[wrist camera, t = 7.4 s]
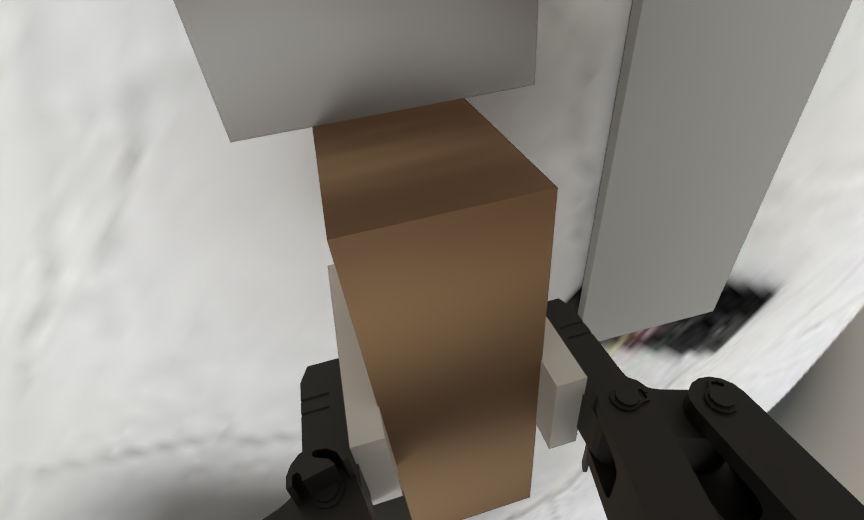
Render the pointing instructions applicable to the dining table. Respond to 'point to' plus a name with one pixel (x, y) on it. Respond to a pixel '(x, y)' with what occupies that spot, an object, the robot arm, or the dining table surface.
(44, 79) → the dining table surface
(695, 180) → the rest mat
